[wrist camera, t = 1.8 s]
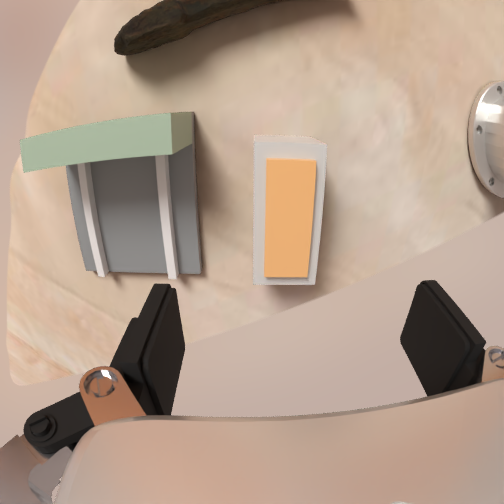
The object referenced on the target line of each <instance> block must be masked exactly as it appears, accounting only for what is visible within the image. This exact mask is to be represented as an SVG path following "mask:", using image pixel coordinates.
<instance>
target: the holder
mask: <svg viewBox="0 0 504 504" xmlns="http://www.w3.org/2000/svg"><path fill="white" fill-rule="evenodd" d="M326 158H327V144H325V143H323V142H321V141H319V140H317V139H315V138H313V137H311V136H290V135H254V225H253V285H315V280H316V272H317V263H318V254H319V245H320V235H321V224H322V213H323V201H324V189H325V174H326Z"/></svg>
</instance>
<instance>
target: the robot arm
mask: <svg viewBox="0 0 504 504" xmlns="http://www.w3.org/2000/svg"><path fill="white" fill-rule="evenodd" d="M468 144H469V151H470V157H471V161H472V165H473V167H474V170H475V172H476V175H477V177H478V178H479V180H480V182H481V183H482V185H483V186H484V187H485V188H486V189H487V190H488V191H490V192H491V193H493V194H494V195H496V196H498V197H500V198H504V81H495V82H492V83H490V84H488V85H486V86H485V87H484V88H483V89H482V90H481V91H480V92H479V94H478V95H477V97H476V99H475V101H474V104H473V106H472V110H471V114H470V118H469V127H468ZM400 340H401V345H402V346H403V349H404V350H405V352H406V354H407V356H408V358H409V360H410V362H411V364H412V366H413V368H414V370H415V372H416V374H417V376H418V378H419V380H420V382H421V384H422V386H423V388H424V390H425V392H426V394H427V396H428V397H424V398H420V399H415V400H410V401H405V402H400V403H394V404H389V405H383V406H378V407H371V408H364V409H357V410H350V411H342V412H333V413H323V414H312V415H298V416H280V417H200V416H172V415H171V412H172V407H173V402H174V397H175V393H176V388H177V383H178V379H179V374H180V370H181V365H182V360H183V356H184V352H185V342H184V336H183V330H182V324H181V318H180V312H179V306H178V299H177V293H176V289H175V288H171V286H170V284H154V285H153V287H152V289H151V292H150V294H149V296H148V298H147V300H146V302H145V304H144V306H143V308H142V310H141V313H140V315H139V317H138V318H132V320H131V321H130V323H129V325H128V327H127V329H126V331H125V334H124V336H123V338H122V340H121V342H120V344H119V346H118V349H117V351H116V353H115V355H114V357H113V360H112V362H111V364H110V366H109V367H108V366H100V367H96V368H93V369H91V370H89V371H87V372H86V373H85V374H84V375H83V377H82V378H81V380H80V384H79V389H80V392H78V393H76V394H74V395H72V396H70V397H67V398H65V399H63V400H61V401H59V402H57V403H55V404H53V405H51V406H48V407H46V408H44V409H42V410H40V411H37V412H35V413H34V414H32V415H31V416H30V417H29V418H28V419H27V421H26V423H25V425H24V434H23V435H22V436H20V437H19V436H18V435H16V436H15V437H13V438H12V439H11V440H10V441H9V442H7V443H6V444H5V445H4V446H3V447H2V448H0V504H53V503H52V498H51V496H52V491H53V490H54V488H55V487H56V486H57V485H58V484H59V483H60V485H59V488H58V491H57V495H56V498H55V501H54V504H504V348H502V347H499V346H490V347H488V348H487V350H486V351H485V350H484V349H483V347H484V345H485V344H486V341H485V340H484V338H483V337H482V336H481V334H480V333H479V332H478V330H477V329H476V328H475V327H474V325H473V324H472V323H471V322H470V320H469V319H468V318H467V317H466V316H465V314H464V313H463V312H462V311H461V309H460V308H459V307H458V306H457V305H456V303H455V302H454V301H453V300H452V299H451V297H450V296H449V295H448V294H447V293H446V292H445V291H444V290H443V288H442V287H441V286H440V285H439V284H438V283H437V281H435V280H427V281H422V282H421V283H420V284H419V285H418V286H417V288H416V291H415V295H414V298H413V301H412V304H411V307H410V310H409V313H408V316H407V319H406V323H405V325H404V328H403V331H402V334H401V337H400ZM61 477H62V479H61V481H60V480H59V479H60V478H61Z"/></svg>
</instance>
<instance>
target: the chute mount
mask: <svg viewBox="0 0 504 504" xmlns="http://www.w3.org/2000/svg"><path fill="white" fill-rule="evenodd" d="M20 147H21V156H22V164H23V171H24V173H25V172H30V171H35V170H41V169H47V168H53V167H59V166H65V165H66V171H67V179H68V185H69V192H70V198H71V204H72V210H73V215H74V220H75V225H76V230H77V235H78V239H79V244H80V248H81V252H82V256H83V260H84V264H85V268H86V271H97V273H98V277H105V276H106V275H107V273H108V272H139V273H168V278H169V279H177V277H178V275H179V273H180V274H201V271H202V260H201V247H200V234H199V219H198V202H197V184H196V162H195V133H194V112H178V113H164V114H154V115H145V116H137V117H129V118H122V119H115V120H109V121H103V122H97V123H91V124H86V125H81V126H76V127H71V128H66V129H62V130H57V131H53V132H49V133H44V134H40V135H37V136H33V137H29V138H25V139H22V140H20Z"/></svg>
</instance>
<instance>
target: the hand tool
mask: <svg viewBox="0 0 504 504" xmlns="http://www.w3.org/2000/svg"><path fill="white" fill-rule="evenodd" d="M277 1H282V0H163V1H161V2H159V3H157V4H156V5H154V6H153V7H151V8H150V9H146V10H144V11H142V12H141V13H140V14H139V15H137V16H135V17H133V18H132V19H131V20H130V21H129V22H128V23H126V24H125V25H124V26H123V27H122V28H121V30H120V31H119V33H118V34H117V36H116V37H115V39H114V40H115V42H114V47H115V50H114V51H115V52H116V53H117V54H119V55H131V54H136V53H139V52H142V51H146V50H149V49H151V48H156V47H158V46H161V45H163V44H165V43H168V42H172V41H175V40H178V39H181V38H183V37H185V36H187V35H188V34H189V33H190V32H191V31H192V30H194V29H196V28H199V27H201V26H204V25H206V24H209V23H211V22H214V21H217V20H220V19H223V18H225V17H228V16H231V15H234V14H238V13H242V12H245V11H247V10H249V9H252V8H254V7H258V6H261V5H265V4H268V3H274V2H277Z"/></svg>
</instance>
